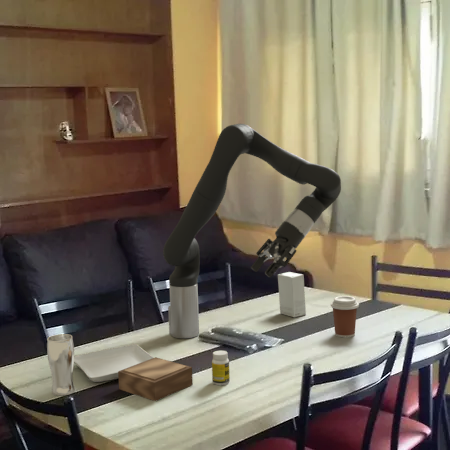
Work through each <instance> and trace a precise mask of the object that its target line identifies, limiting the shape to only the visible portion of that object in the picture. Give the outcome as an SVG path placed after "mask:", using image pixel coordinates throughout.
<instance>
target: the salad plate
mask: <svg viewBox="0 0 450 450" xmlns="http://www.w3.org/2000/svg"><path fill="white" fill-rule="evenodd" d="M152 358H155V357H154V356H153V355H151V354H150V353H149V352H147V351H146V350H144V348H142V347H141V346H140V345H138V344H137V343H132V344H125V345H120V346H115V347H111V348H105V349H100V350H95V351H91V352H86V353H81V354H74V365H75V366H77V367H78V368H79V369H80V370H82V372H84V374H85V376H87V377H88V379H89V380H90V381H92V382H93V383H95V382H96V383H101V382H107V381H112V380H117V379H118V380H119V378H118V371H121V370H123V369H126V368H129V367H131V366H134V365H136V364H139V363H142V362H144V361H147V360H150V359H152Z"/></svg>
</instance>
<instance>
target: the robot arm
mask: <svg viewBox="0 0 450 450" xmlns="http://www.w3.org/2000/svg"><path fill="white" fill-rule="evenodd" d="M242 154H243V155H244V154H247V155H250V156H253V157H256V158H258V159H260V160H262V161H264V162H266V163H267V164H268V165H269V166H270V167H272V168H273V169H274V170H275V172H278V173H279V174H280V175H282V176H284V177H286V178H288V179H289V180H291V181H294V182H296V183H297V184H298V185H306V184H308V185H311V186H313V187H315V189H314V190H313V191H312V192H311V194H309V195H306V196H304V197H303V198H302V199H301V200H300V201H299V203H298V204H297V205H296V207H295V208H294V209H293V210H291V212H290V213H289V214H288V215H287V216H286V218H285V219H284V220H283V222H282V223H281V225H279V226H278V228H277V229H276V231H275V232H274V235H275V237H276V238H275V239H274V240H272V239H271V238H267V240H265V242H264V243H263V244H262V245H261V247H260V248H259V249H258V250H257V252H256V254H255V255H257V258H256V259H255V261H254V262H253V263H252V264H251V266H250V268H251V270H252V271H253V272H256V273H257V272H259V270H260V269H261V267H262V266H263V265H264V264H265V262H267V261H268V260H272V259H273V262H272V263H270V265H269V266H268V267H267V269H266V270H265V271H264V275H266V276H267V277H268V278H272V277H273V275H274V274H275V273H276V272H277V270H278V269H280V268H282V267H283V268H286V267H287V265H288V264H289V262H290V261H291V260H292V259H293V257H294V256H295V255H296V253H297V250H296V249H297V248H298V246H299V245H300V244H301V243H302V241H304V239H305V238H306V236H307V235H308V234H309V232H310V231H311V230H312V228H313V226H314V225H315V223H316V222H317V221H318V219H320V217H321V215H322V214H323V213H324V212H325V211H326V210H327V209H328V208H329V207H330V206H332V204H334V202H335V201H336V200H337V199H338V198H339V196H340V194H341V190H342V183H341V182H342V180H341V176H340V175H339V174H338V172H336V171H335V170H334V169H332V168H330V167H327V166H324V165H320V164H318V163H313V162H310V161H308V160H306V159H304V158H302V157H301V156H298V155H296V154H295V153H292V152H290V151H288V150H287V149H284V148H282V147H280V146H278V145H277V144H276V143H273V141H271V140H269V139H267V138H266V137H265V136H263V135H262V134H261V133H259V132H258V131H256V130H255V129H254V128H252V127H250V125H248V124H245V123H235V124H231V125H227V126H226V127H225V128H223V129H222V130H221V132H220V134H219V136H218V138H217V140H216V143H215V146H214V149H213V151H212V154H211V156H210V159H209V161H208V163H207V165H206V167H205V169H204V170H203V172H202V174H201V177H200V178H199V180H198V183H197V184H196V186H195V188H194V190H193V192H192V194H191V196H190V198H189V199H188V200H189V201H188V203H187V204H186V206H185V209H184V210H183V212H182V215H181V217H180V219H179V221H178V223H177V224H176V225H175V227H174V229H173V231H172V232H171V234H170V235H169V236H168V238H167V240H166V241H165V243H164V245H163V249H162V254H163V259H164V261H165V262H166V263H167V264H168V265H170V266H173V267H174V269H173V271H172V273H171V274H170V275H169V277H168V282H169V283H168V285H169V304H170V305H169V306H168V308H167V309H168V329H169V330H168V334H169V335H171V336H172V337H173V338H176V339H192V338H195V337H197V336H199V335H200V317H199V312H200V311H199V294H198V279H199V274H200V263H201V262H200V257H201V256H200V253H201V252H200V246H199V243H198V241H197V239H196V236H197V235H198V233H199V232H200V231H201V230H202V229H203V227H204V226H205V225H207V223H208V222H209V221H210V220H211V219H212V217H213V216H214V215H215V214H216V212H217V211H218V209H219V207H220V205H221V203H222V202H223V200H224V197H225V195H226V190H227V186H228V179H229V174H230V171H231V170H232V168H233V167H234V165H235V163H236V161H237V160H238V158H239V157H240V155H242Z"/></svg>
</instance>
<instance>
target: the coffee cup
mask: <svg viewBox="0 0 450 450" xmlns="http://www.w3.org/2000/svg"><path fill="white" fill-rule="evenodd" d="M359 307H360V303H359V302H358V301H357V300H356V298H355V297H354V296H349V295H340V296H336V297H333V301H331V302H330V308H332V314H333V325H334V335H335V336H336V337H339V338H352V337H355V335H356V322H357V312H358V308H359Z"/></svg>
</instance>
